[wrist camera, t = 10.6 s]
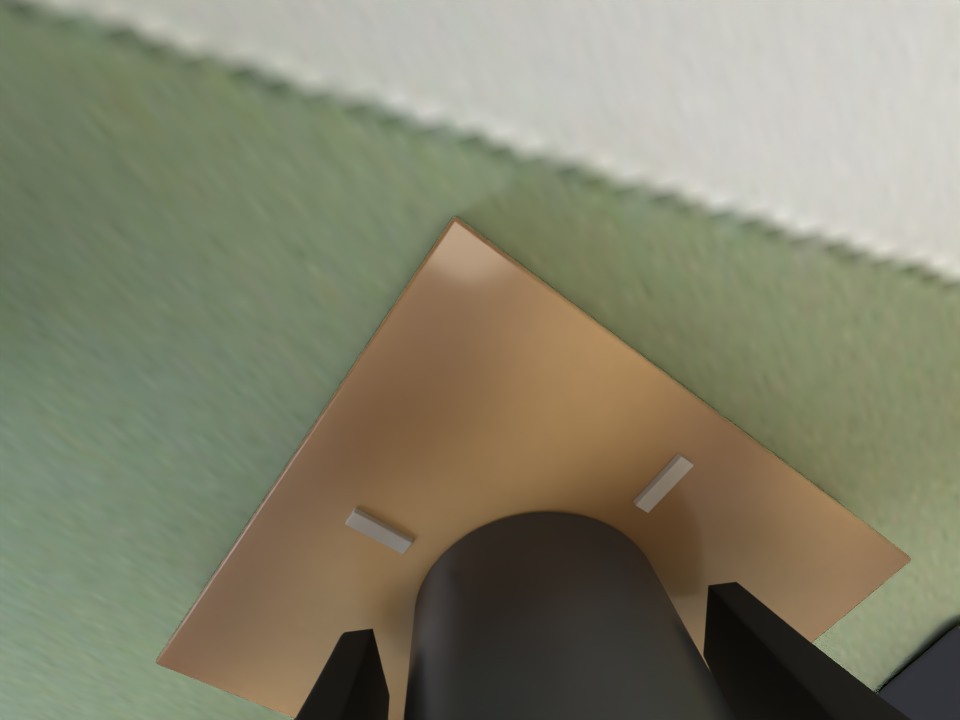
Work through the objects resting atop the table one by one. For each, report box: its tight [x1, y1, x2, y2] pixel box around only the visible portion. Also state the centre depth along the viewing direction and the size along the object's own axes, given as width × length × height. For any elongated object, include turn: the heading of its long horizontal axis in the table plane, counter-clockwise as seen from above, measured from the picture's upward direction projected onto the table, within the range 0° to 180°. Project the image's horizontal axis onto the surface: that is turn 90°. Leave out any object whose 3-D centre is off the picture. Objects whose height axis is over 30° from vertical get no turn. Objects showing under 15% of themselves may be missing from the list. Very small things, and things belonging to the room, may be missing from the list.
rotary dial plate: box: [156, 216, 911, 720], centre depth 11 cm, size 13×12×2 cm
